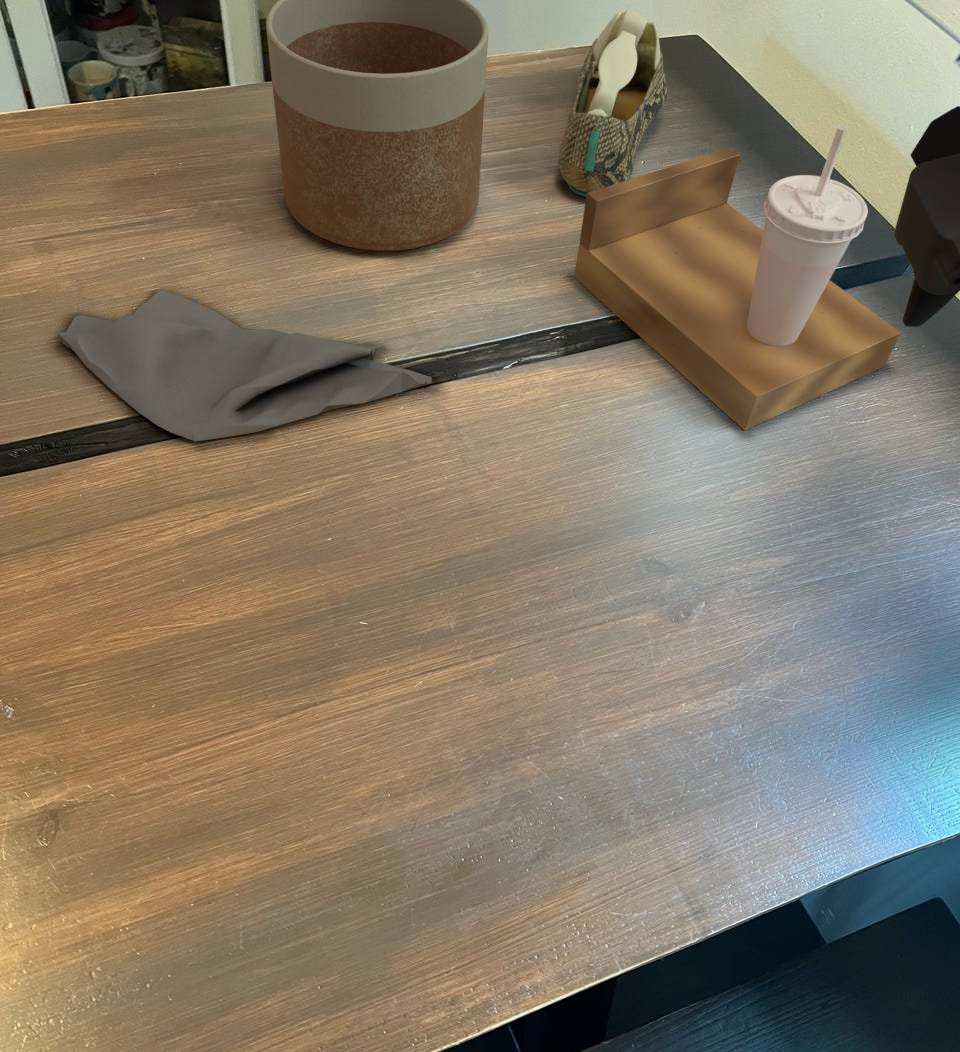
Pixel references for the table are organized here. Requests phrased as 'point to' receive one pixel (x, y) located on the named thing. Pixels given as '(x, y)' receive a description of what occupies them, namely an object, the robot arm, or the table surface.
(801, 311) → the smoothie
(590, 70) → the ballet flat
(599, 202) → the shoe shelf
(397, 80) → the planter
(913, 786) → the table surface
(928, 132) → the robot arm
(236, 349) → the cloth
